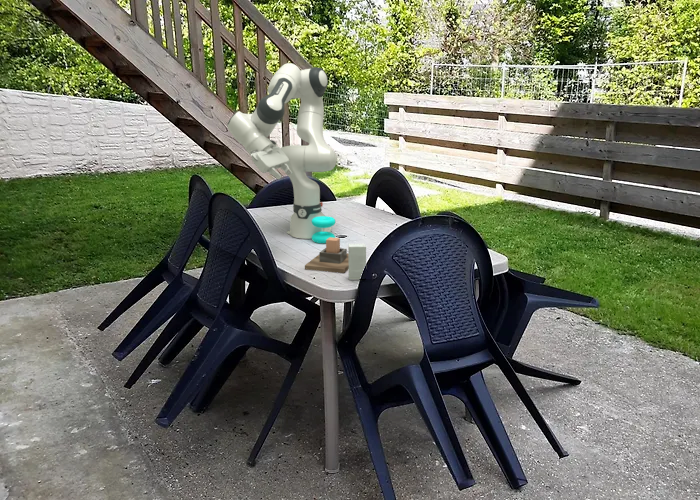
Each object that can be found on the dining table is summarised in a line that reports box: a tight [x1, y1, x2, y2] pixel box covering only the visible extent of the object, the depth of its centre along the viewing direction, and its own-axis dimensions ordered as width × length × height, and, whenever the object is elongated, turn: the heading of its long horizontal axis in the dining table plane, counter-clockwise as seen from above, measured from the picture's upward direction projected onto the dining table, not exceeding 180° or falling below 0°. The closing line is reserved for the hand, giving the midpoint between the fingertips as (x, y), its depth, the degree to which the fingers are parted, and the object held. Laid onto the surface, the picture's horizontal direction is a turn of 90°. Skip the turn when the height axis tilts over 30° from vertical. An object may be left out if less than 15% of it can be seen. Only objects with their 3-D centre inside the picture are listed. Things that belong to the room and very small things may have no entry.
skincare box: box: [347, 243, 367, 281], centre depth 220 cm, size 6×4×12 cm
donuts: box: [311, 215, 336, 244], centre depth 269 cm, size 10×10×10 cm
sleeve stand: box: [304, 247, 349, 274], centre depth 238 cm, size 20×15×5 cm
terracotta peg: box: [325, 237, 341, 253], centre depth 237 cm, size 4×4×8 cm
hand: (285, 176), depth 238 cm, fingers open, 8 cm apart
